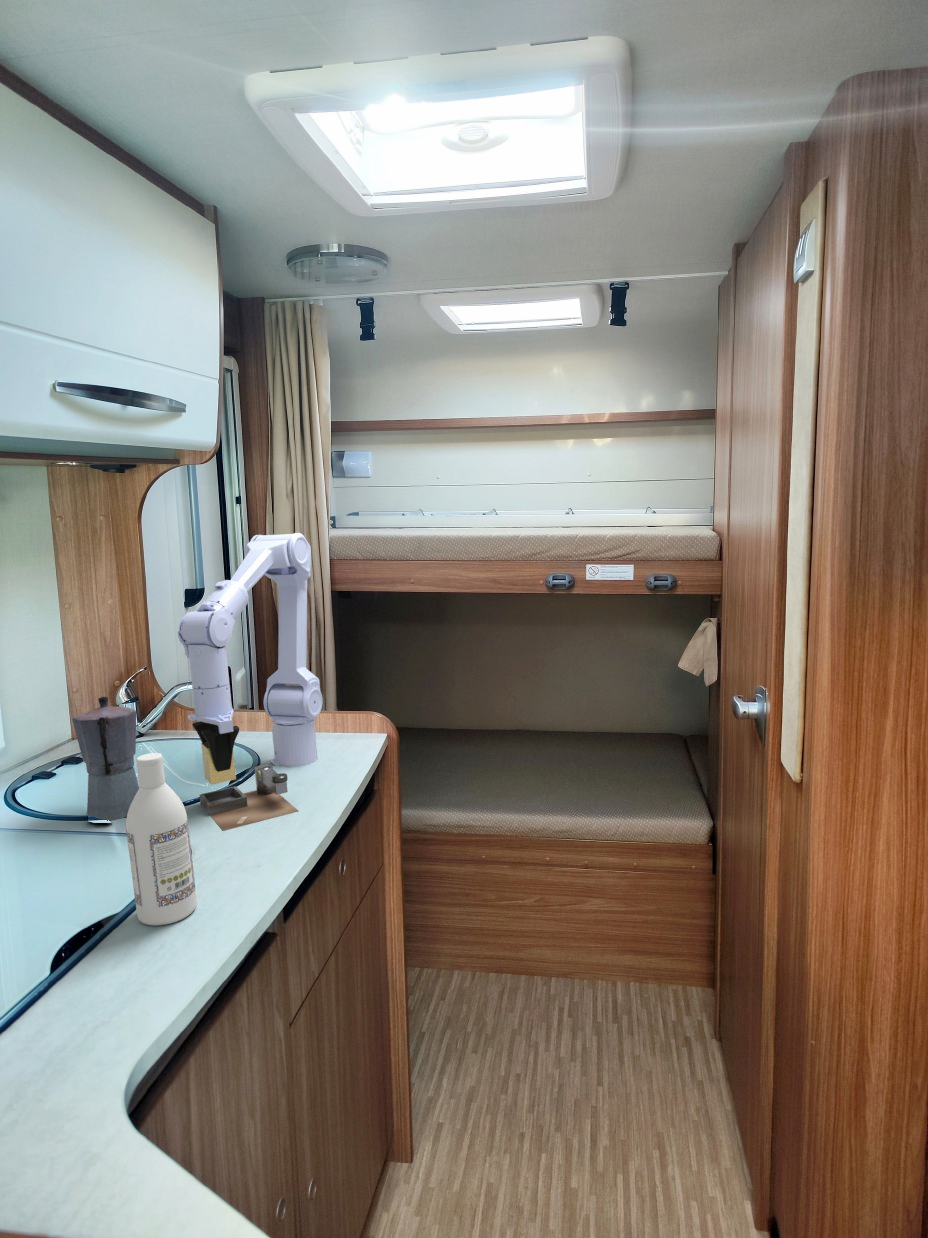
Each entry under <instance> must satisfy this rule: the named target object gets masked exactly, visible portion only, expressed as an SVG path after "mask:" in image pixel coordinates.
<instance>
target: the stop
mask: <svg viewBox="0 0 928 1238" xmlns="http://www.w3.org/2000/svg"><path fill="white" fill-rule="evenodd" d="M200 745H201V746H200V747H201V755H202V763H203V772H204V779H205V780H206V781H207V783H209V784H210V785H211V786H213V785H217V784H220V783H224V782H225V783H226V782H230V781H235V780H236V779H237V776H236V774H237V773H236V765H235V763H236V762H235V755H234V751H233V752H232V761H231V767H230V769H229V770H224V771H220V772H217V771H216V769H215V766H214V763H213V759H212V755H211V751H210V748H209V746H208V743H207V742H204V743H202V742H201V743H200Z"/></svg>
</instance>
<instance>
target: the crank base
mask: <svg viewBox="0 0 928 1238" xmlns="http://www.w3.org/2000/svg"><path fill="white" fill-rule="evenodd" d="M199 803H200V806H201V807H202V808H203V809H204V810H205V811H206V813H207V814H208V815H209V817H211V819H212V820H213V821H214V822H215V823H216V825H217V826H218V828H220V829H221V831H223V832H225V831H229V830H232V829H236V828H240V827H243V826H247V825H252V824H256V823H260V822H263V821H268V820H270V819H274V818H278V817H281V816H286V815H290V814H294V813H298V812H299V809H298V808H296V807H295V806H294V805H293V804H292V803H290V802H289V801H288V800H287V799H285V798H284V797H283V796H282V794H278V795H276V794H275V793H274V792H273V793H271V794H266V795H259V794H257V789H256V790H253V791H252V790H251V791H249V792H244V793H243V792H242V791H241V790H240V789H239V788H238V786H235V785H234V786H231V787H230V786H229V787H226V788H221V789H217V790H213V791H210V792H205V793H200V794H199Z"/></svg>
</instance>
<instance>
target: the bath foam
mask: <svg viewBox="0 0 928 1238" xmlns="http://www.w3.org/2000/svg"><path fill="white" fill-rule="evenodd" d="M135 761H136V767H137V768H136V769H137V780H138V786H139V790H138V791H137V793H136V795H135V797H134V799H133V801H132V803H131V805H130V807H129V810H128V814H127V817H126V820H125V821H126V823H125V824H126V825H125V826H126V827H125V828H126V829H125V830H126V831H125V832H126V839H127V847H128V854H129V861H130V862H129V863H130V870H131V871H130V872H131V878H132V885H133V895H134V902H135V909H136V916H137V919H138V920H139V922H140V923H142V924H144V925H147V926H165V925H170V924H173V923H176V922H179V921H182V920H183V919H185V918H187V917H188V916H190V915H191V914H192V913H193V912H195V909H196V908H197V904H198V900H197V892H196V881H195V880H196V879H195V872H194V871H195V870H194V864H193V855H192V853H193V852H192V848H191V847H192V846H191V838H190V837H191V836H190V829H189V828H190V827H189V820H188V815H187V810H186V807H185V805H184V804H183V801H182V799H181V798H180V797H179V796H178V794H177V793H176V792H175V791H174V790H173V789H172V788H171V787H170V786H169V785H168V784H167V783H166V777H165V767H164V757H163V755H162V753H158V752H152V753H144V754H141V755H140V756H138V757H136V760H135Z"/></svg>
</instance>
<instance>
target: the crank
mask: <svg viewBox="0 0 928 1238" xmlns="http://www.w3.org/2000/svg"><path fill="white" fill-rule="evenodd" d="M254 777H255V778H254V779H255V787H256V790H257V794H259V795H266V794H271V793H273V792H274V793H275V794H276V795H278V794H280V795H282V794H286V793H288V782H287V781H288V780H289V779H288V774H287V773H283V772H281V773H278V772H277V771H275V770H274V765H273V764H265V763H264V764H259V765H257V766H255V767H254Z"/></svg>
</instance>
